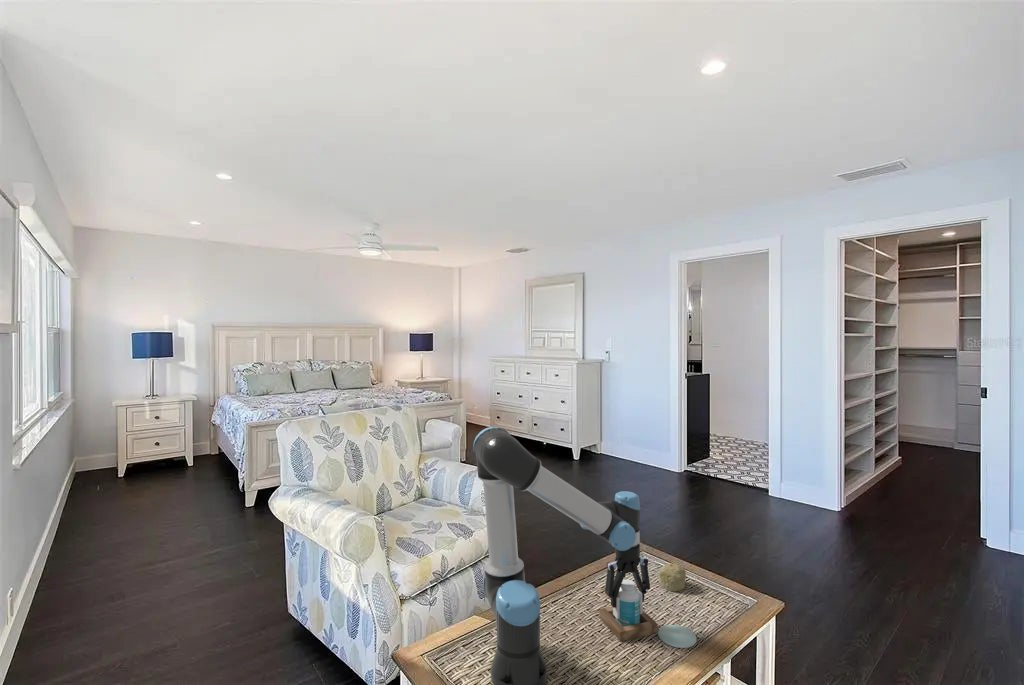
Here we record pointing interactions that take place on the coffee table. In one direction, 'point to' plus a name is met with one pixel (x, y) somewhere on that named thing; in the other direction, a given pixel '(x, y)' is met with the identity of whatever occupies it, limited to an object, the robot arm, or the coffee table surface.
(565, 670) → the coffee table surface
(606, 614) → the walnut frame
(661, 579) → the decorative object
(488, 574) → the robot arm
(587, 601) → the coffee table surface
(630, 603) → the pill bottle
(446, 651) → the coffee table surface
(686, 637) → the coaster
